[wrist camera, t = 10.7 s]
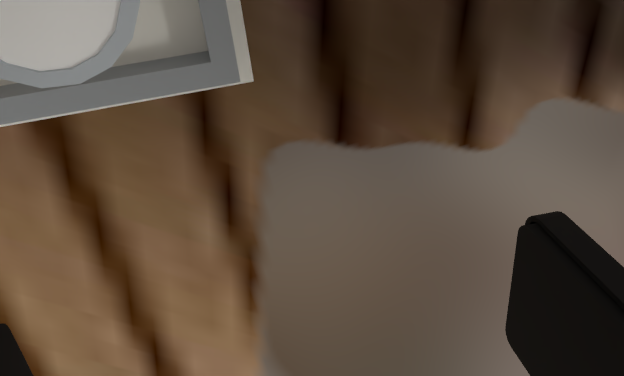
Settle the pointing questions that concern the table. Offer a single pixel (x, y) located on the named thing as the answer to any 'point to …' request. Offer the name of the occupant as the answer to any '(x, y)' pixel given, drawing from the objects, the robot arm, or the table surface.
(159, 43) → the u rest
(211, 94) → the table surface
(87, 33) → the white cup
